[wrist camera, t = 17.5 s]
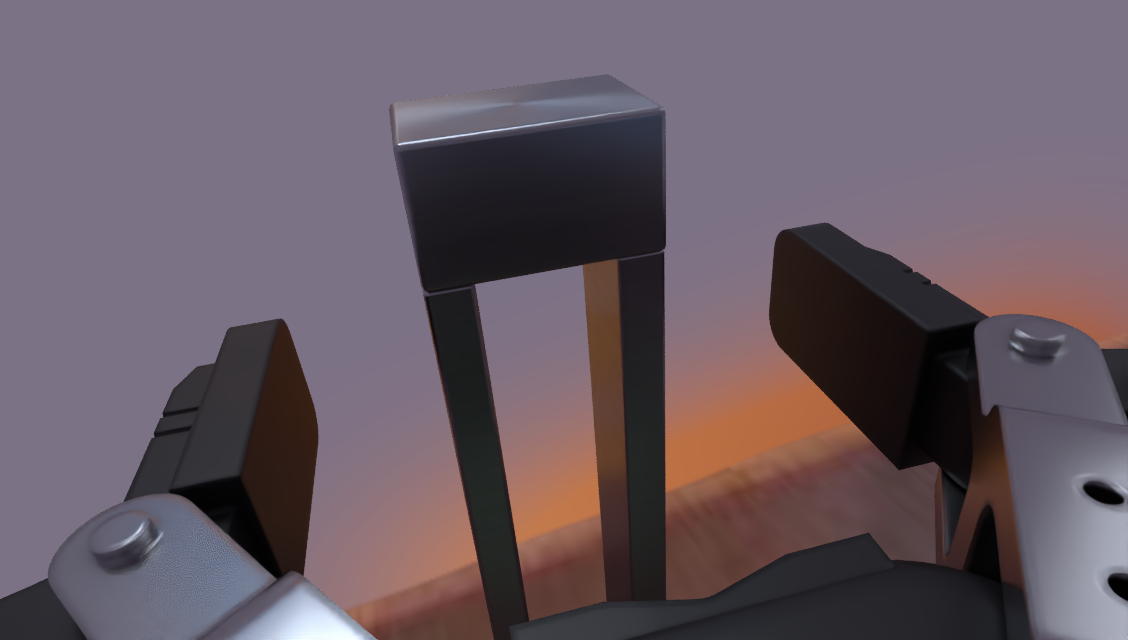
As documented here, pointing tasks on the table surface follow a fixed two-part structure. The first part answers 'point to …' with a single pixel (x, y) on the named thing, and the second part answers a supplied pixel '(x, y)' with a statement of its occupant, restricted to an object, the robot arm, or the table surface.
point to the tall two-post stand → (537, 244)
